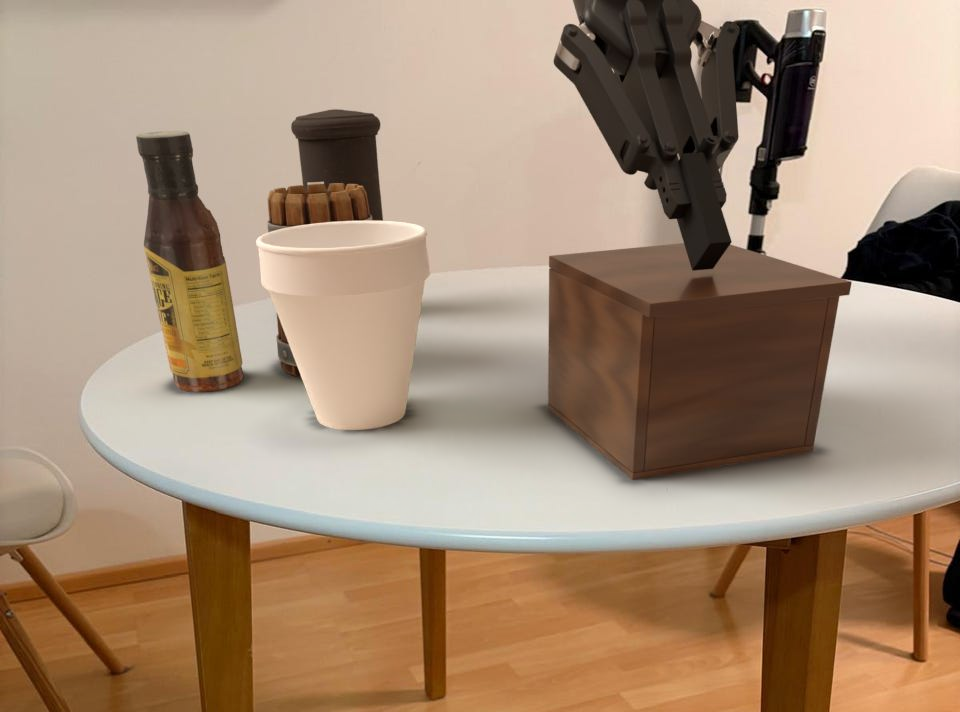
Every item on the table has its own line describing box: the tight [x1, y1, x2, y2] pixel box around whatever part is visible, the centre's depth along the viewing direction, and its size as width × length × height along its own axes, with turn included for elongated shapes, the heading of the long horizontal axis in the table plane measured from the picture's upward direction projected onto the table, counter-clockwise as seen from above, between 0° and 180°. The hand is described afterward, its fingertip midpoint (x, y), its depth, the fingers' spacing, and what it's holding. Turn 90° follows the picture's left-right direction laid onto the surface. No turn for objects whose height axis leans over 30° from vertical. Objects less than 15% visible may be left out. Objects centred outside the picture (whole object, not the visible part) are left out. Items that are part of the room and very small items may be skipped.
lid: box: [548, 242, 853, 318], centre depth 61 cm, size 16×14×1 cm
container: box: [290, 108, 384, 221], centre depth 97 cm, size 9×9×20 cm
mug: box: [266, 182, 373, 377], centre depth 83 cm, size 16×11×15 cm
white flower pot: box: [255, 220, 431, 431], centre depth 69 cm, size 12×12×14 cm
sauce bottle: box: [135, 130, 244, 393], centre depth 76 cm, size 7×6×20 cm
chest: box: [547, 267, 841, 481], centre depth 65 cm, size 16×14×11 cm
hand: (711, 256), depth 58 cm, fingers closed
